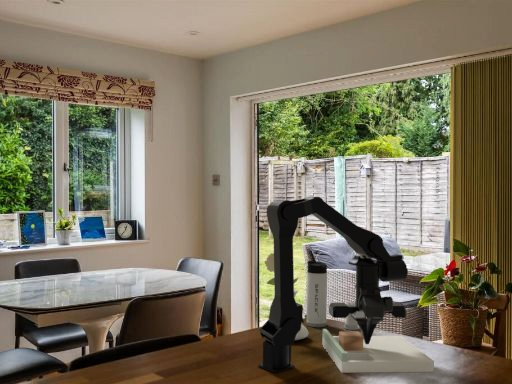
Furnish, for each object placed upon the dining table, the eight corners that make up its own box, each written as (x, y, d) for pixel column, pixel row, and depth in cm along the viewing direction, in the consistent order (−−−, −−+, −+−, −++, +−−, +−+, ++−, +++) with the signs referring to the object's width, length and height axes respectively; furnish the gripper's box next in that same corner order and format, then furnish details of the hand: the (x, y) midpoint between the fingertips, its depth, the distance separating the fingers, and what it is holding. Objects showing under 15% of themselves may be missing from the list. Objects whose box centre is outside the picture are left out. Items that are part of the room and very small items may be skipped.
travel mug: (314, 321, 179) (315, 260, 179) (330, 325, 174) (331, 262, 174) (301, 324, 174) (302, 261, 174) (317, 328, 170) (318, 263, 170)
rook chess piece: (348, 326, 173) (348, 300, 173) (361, 328, 171) (361, 302, 171) (341, 328, 170) (341, 302, 170) (353, 331, 167) (354, 304, 167)
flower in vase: (311, 335, 162) (312, 249, 162) (305, 345, 150) (307, 253, 151) (267, 331, 165) (268, 248, 165) (259, 341, 153) (260, 252, 154)
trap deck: (341, 372, 128) (341, 353, 128) (322, 345, 151) (322, 328, 151) (433, 371, 129) (434, 352, 129) (400, 344, 152) (401, 328, 152)
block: (343, 350, 137) (343, 336, 137) (338, 345, 142) (338, 331, 142) (363, 350, 137) (363, 336, 137) (357, 345, 142) (358, 331, 142)
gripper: (338, 287, 131) (337, 353, 131) (414, 287, 132) (414, 352, 132) (328, 280, 142) (328, 341, 142) (399, 280, 144) (398, 340, 143)
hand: (366, 344), depth 140 cm, fingers closed
